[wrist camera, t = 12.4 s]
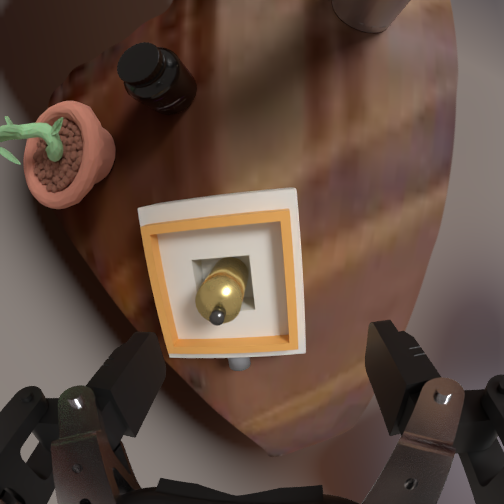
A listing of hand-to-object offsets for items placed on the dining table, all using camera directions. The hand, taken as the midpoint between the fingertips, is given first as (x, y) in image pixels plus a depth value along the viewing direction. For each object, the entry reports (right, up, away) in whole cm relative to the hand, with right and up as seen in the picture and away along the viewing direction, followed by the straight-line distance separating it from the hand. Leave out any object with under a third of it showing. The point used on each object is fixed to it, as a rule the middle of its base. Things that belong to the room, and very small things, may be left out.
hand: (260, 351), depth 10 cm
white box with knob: (-3, 0, +29) cm, 29 cm away
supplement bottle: (-11, +25, +23) cm, 36 cm away
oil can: (-3, +1, +27) cm, 27 cm away
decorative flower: (-24, +18, +26) cm, 40 cm away
